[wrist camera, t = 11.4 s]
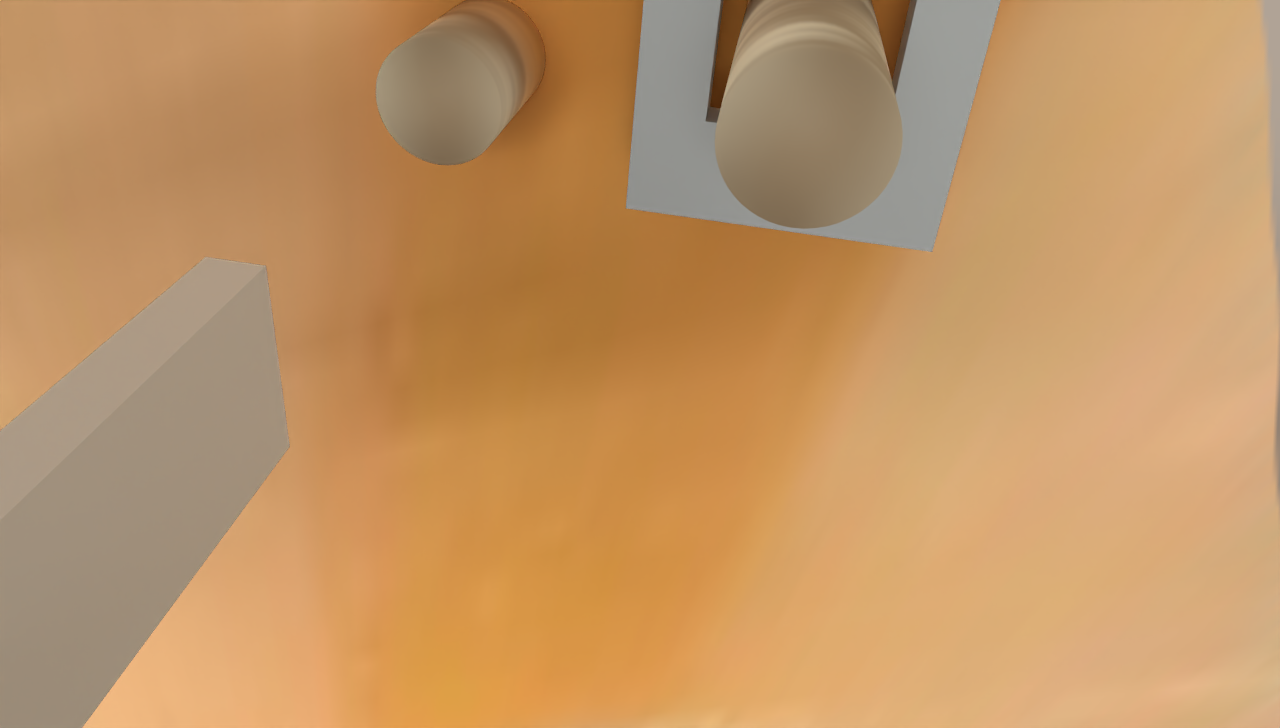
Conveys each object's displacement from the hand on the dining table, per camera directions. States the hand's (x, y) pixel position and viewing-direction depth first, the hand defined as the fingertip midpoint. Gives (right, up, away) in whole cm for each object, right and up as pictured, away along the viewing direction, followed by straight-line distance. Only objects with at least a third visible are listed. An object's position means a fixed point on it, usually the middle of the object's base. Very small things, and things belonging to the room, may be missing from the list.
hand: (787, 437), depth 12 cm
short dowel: (-7, +12, +24) cm, 27 cm away
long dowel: (+4, +13, +21) cm, 25 cm away
